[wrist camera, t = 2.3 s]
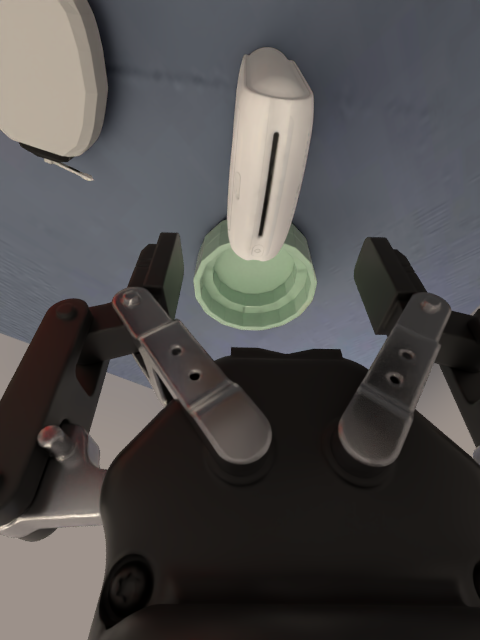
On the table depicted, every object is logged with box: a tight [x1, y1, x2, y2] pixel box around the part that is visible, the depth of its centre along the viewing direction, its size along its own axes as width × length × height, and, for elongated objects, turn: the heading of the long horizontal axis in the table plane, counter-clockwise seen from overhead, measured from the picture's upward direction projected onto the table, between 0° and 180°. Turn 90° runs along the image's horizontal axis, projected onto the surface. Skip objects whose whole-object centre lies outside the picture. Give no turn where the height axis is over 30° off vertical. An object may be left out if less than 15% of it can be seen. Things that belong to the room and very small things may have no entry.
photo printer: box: [227, 47, 314, 262], centre depth 21 cm, size 10×4×12 cm, turn 174°
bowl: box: [194, 220, 317, 330], centre depth 33 cm, size 12×12×5 cm
